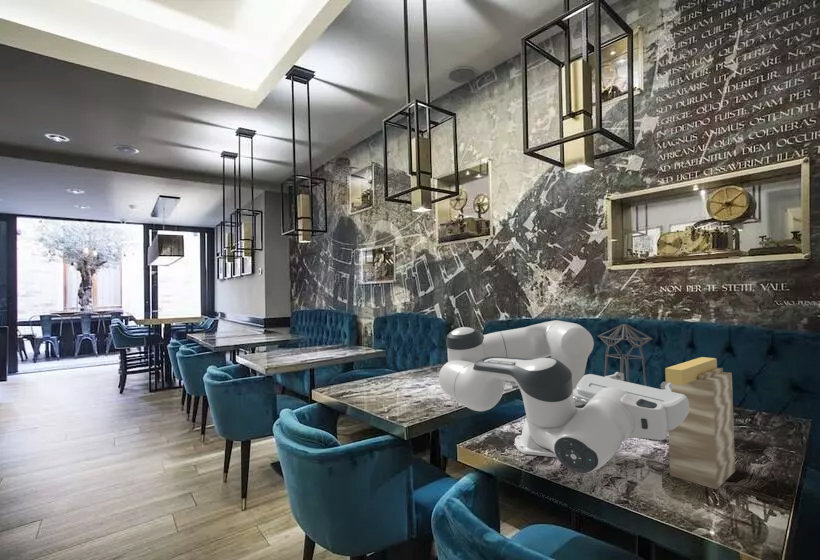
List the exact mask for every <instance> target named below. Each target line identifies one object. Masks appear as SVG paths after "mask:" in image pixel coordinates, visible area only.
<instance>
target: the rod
mask: <svg viewBox="0 0 820 560" xmlns="http://www.w3.org/2000/svg"><path fill="white" fill-rule="evenodd" d="M717 368H718V361H717V358H715V357H707V356H706V357H705V356H701V357H697V358H694V359H691V360H688V361H685V362H681V363H678V364H675V365H671V366H668V367H665V369H664V372H665V382H668V383H671V384H677V385H684V384H687V383H689V382H692V381H694V380H697V379H698V376H699V375H701V374H704V373H706V372H709V371H711V370H714V369H717Z"/></svg>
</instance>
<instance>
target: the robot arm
mask: <svg viewBox="0 0 820 560" xmlns="http://www.w3.org/2000/svg"><path fill="white" fill-rule="evenodd" d="M594 342H595V341H594V337H593V336H592V334H591V332H590V331H589V330H587V329H586V328H585V327H584V326H582V325H580V324H578V323H574V322H569V321H562V320H558V319H557V320H555V319H554V320H550V321H544V322H541V323H536V324H532V325H528V326H525V327H519V328H518V327H517V328H513V329H512V328H511V329H507V330H501V331H500V330H499V331H495V332H494V331H493V332H490V333H487V334H481V332H480V331H478V329H476V328H474V327H468V326H463V327H457V328H455V329H453V330H451V331H450V332H449V333H448V334H447V335H446V339H445V345H446V348H447V362H446V363H444V365H443V366H441V369H440V370H439V374H438V383H439V385H440V388H441V389H442V390H443V391H444V393H446V394H447V395H448V396H449V397H450V398H451V399H452V400H454V401H455V402H457V403H459V404H460V405H463V406H464V407H466V408H468V409H469V410H472V411H476V412H485V411H488V410H491V409H492V408H494V407H495V406H496V405H498V403H499V402H500V400H501V398H502V397H503V395H504V390H505V381H508V382H515V383H516V385H517V386H518V389H519V391H520V393H521V397H522V402H523V406H524V411H525V415H526V416H525V417H526V418H525V419H526V421H525V422H524V423H523V426H522V429H521V430H522V431H521V434H519V435H517V436H516V437H515V438H514V445H515V448H516V449H517V450H518V451H519V452H521V453H522V454H525V455H532V456H541V457H542V456H543V457H547V458H548V457H550V458H556V459H557V460H558V461H559V463H560V464H562V466H564V467H565V468H567V469H568V470H569V471H572V472H574V473H577V474H589V473H593V472H595V471H597V470H599V469H601V468H602V467H603V466H605V465H606V464H607V463H608V462H609V461H610V460H611V459H612V458H613V457H614V456H615V455H616V453H617V452H618V451H619V449H620V448H621V446H622V444H623V443H622V442H624V441H625V440H627V439H647V440H649V439H650V440H657V441H658V440H659V441H664V440H666V438H667V436H668V432H669V430H673V429H675V428H676V427H678V426H679V425H680V424H681V423H682V422H683V421H684V419H685V418H686V417H687V415H688V413H689V401H688V398H687V397H686V396H685V395H684V394H680V393H675V392H671V391H672V384H671V383H668V382H666V381H662V382H661V384H660V388H656V387H651V386H647V385H646V386H645V385H643V384H638V383H633V382H630V381H629V382H627V381H625V373H624V372H623V373H620V371H615V372H614V374H609V375H607V376H605V375H604V376H601V375H597V374H593V373H589V374H585V373H586V367H587V363H588V358H589V356H590V355H591V353H592V351H593V350H594V345H595V344H594Z"/></svg>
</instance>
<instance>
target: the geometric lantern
mask: <svg viewBox="0 0 820 560" xmlns="http://www.w3.org/2000/svg"><path fill="white" fill-rule="evenodd" d="M612 331H613V332H612ZM610 332H612V333H611V334H610V335H609V336H604V335H606V334H608V333H610ZM620 332H621V334H620ZM636 332H637V333H638V334H637V333H636ZM619 334H620V335H619ZM639 334H640V335H642V336H644V337H641V336H640V335H639ZM597 337H598V338H599V339H600V340H601V341H603V343H604V344H606V345H607V347H606V351H605V354H604V356H605V357H604V359H605V360H604V377H605V376H608V373H607V372H608V362H609V361H608V360H609V357H610V358H615V359H620V360H619V363H620V367H619V369H620V371H619V372H620V373H623V374H624V366H625V375H626V377H625V378H626V382H630V370H629V369H630V368H629V367H630V365H629V364H630V363H629V362H630V361H629V360H641V363H642V372H643V374H642V375H643V383H644V386H647V380H646V377H647V376H646V363H645V362H646V361H645V357H644V353H643V348H642V347H643V346H644V345H645V344H647V343H648V342H650V341H651V340H653V338H652V337H650V336H649V335H648V334H645V333H643V332H642V331H640V330H638V329H636V328H634V327H632V326H631V325H629V324H626V323H623V324H619V325H618V326H615V327H613V328H611V329H610V330H608V331H605V332H603V333H601V334H598V335H597ZM622 340H624V341H627V342H628V343H629V344H630V345H631V346H632V347H631V348H630V349H629V350H628V352H627V353H626V354H624V353H623V351H621V349H620V348H619V346H618V344H619V343H620V342H621V341H622ZM638 342H639V344H638ZM611 347H613V348H614V349H615V351H616V352H617V354H614V353H613V354H612V353H611V355H610V354H609V353H610V349H611ZM637 348H638V349H639V352H640V355H632V354H631V352H632V351H633V349H637ZM618 356H619V357H618ZM624 360H625V363H624ZM624 364H625V365H624Z"/></svg>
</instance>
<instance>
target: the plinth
mask: <svg viewBox="0 0 820 560" xmlns="http://www.w3.org/2000/svg"><path fill="white" fill-rule="evenodd" d="M732 374H733V373H732V372H727V371H726V372H725V371H724V368H723V367H717V369H714V370H711V371H709V372H706V373H704V374H701V375H699V376H698V379H697V380H694V381H692V382H689V383H687V384H684V385H677V384H672V391H671V392H675V393H680V394H684V395H685V396H686V397H687V398H688V401H689V413H688V415H687V417H686V418H685V419H684V421H683V422H682V423H681V424H680V425H679V426H678V427H676V428H675V429H673V430H668V455H669V456H668V457H669V461H668V462H669V476H671V477H674V478H678V479H680V480H685V481H687V482H691V483H693V484H697V485H700V486H703V487H706V488H710V489H714V490H718V489H719V487H721V485H723V483H725V482H726V481H727V480H728V479H729V478H730V477H731V476H732V475H733V474H734V473H735V472H736V458H735V457H736V454H735V453H736V452H735V450H736V449H735V425H734V403H733V401H734V400H733V375H732Z"/></svg>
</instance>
